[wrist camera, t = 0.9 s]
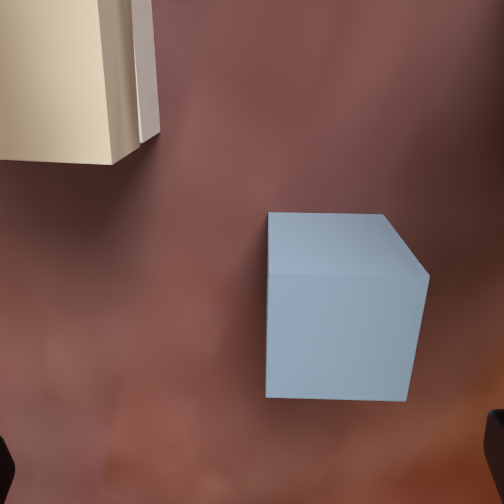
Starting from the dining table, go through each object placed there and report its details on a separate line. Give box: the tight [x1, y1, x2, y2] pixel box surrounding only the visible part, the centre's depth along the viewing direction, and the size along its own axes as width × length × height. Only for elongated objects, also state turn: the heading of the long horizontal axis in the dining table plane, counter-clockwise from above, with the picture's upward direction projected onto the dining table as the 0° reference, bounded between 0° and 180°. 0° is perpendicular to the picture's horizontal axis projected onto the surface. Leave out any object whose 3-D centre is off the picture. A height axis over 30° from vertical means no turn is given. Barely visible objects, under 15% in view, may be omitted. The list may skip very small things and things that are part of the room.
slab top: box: [0, 0, 140, 165], centre depth 13 cm, size 6×6×3 cm
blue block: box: [266, 212, 430, 401], centre depth 17 cm, size 5×5×6 cm
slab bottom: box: [131, 0, 160, 143], centre depth 16 cm, size 6×6×3 cm
